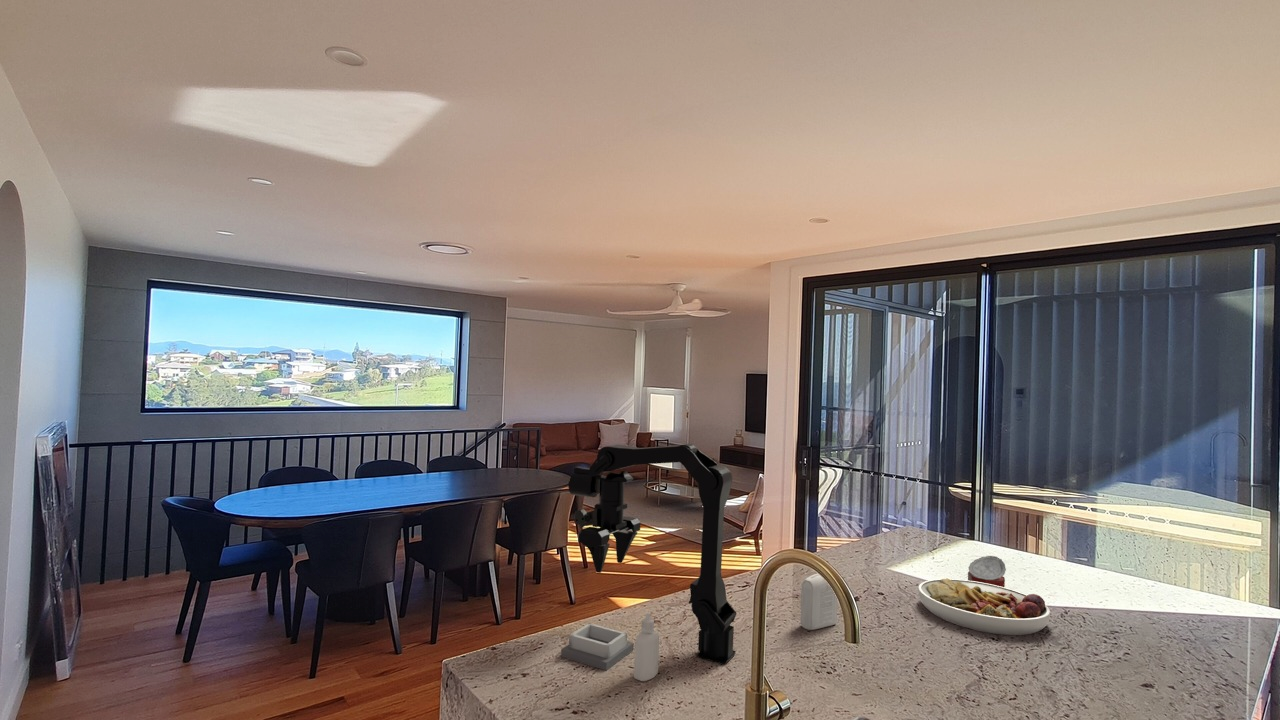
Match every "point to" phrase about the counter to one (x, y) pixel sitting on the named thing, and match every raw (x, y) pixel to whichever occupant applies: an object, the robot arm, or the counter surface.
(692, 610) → the robot arm
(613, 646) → the grey square bottle holder
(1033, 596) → the bowl
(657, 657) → the eye dropper bottle
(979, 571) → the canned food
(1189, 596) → the counter surface
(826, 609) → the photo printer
